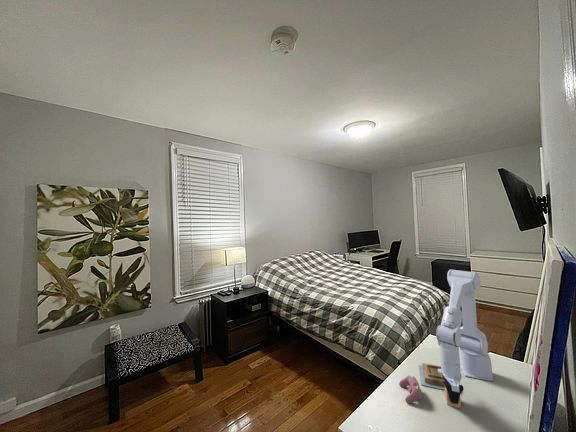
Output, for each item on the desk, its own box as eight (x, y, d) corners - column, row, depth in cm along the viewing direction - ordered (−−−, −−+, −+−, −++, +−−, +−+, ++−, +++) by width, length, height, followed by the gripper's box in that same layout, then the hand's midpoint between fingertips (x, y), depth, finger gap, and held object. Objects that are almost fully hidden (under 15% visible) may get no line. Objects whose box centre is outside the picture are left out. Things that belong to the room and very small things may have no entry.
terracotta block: (458, 399, 85) (457, 383, 86) (461, 407, 82) (459, 390, 82) (445, 396, 87) (444, 380, 87) (447, 404, 84) (446, 387, 84)
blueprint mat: (453, 372, 100) (453, 371, 100) (461, 393, 88) (460, 392, 88) (418, 365, 105) (418, 365, 105) (421, 385, 93) (421, 384, 93)
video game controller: (417, 409, 84) (426, 392, 84) (404, 402, 85) (413, 386, 84) (409, 389, 94) (416, 374, 93) (397, 383, 95) (405, 368, 94)
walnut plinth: (449, 372, 99) (449, 366, 99) (455, 389, 90) (454, 381, 90) (422, 367, 103) (422, 361, 103) (425, 382, 94) (424, 375, 94)
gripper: (434, 347, 93) (436, 382, 93) (440, 370, 80) (443, 410, 80) (455, 350, 90) (458, 386, 90) (465, 374, 77) (468, 416, 77)
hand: (452, 398), depth 85 cm, fingers closed on terracotta block, 4 cm apart
